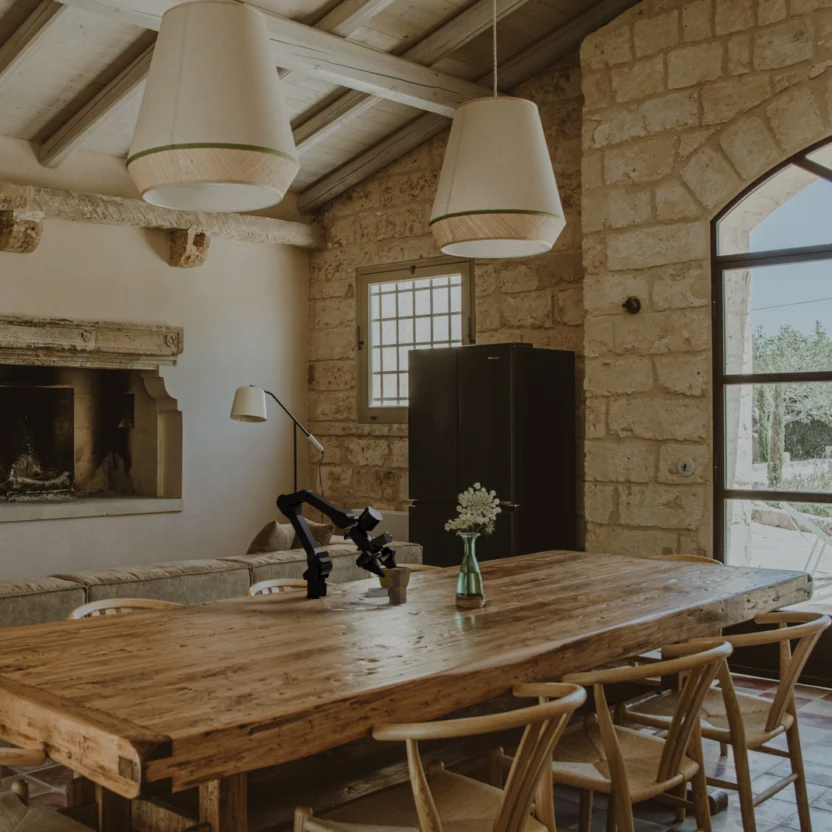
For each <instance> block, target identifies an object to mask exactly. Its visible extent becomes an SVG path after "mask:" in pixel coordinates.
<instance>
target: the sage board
mask: <svg viewBox="0 0 832 832" xmlns="http://www.w3.org/2000/svg"><path fill="white" fill-rule="evenodd" d="M408 594H409V593H406V603H408V602H410V603H411V602H412V599H411V598H410V595H408ZM367 596H368V600H369V603H389V596H384V597H370V596H369V595H368V594H367Z"/></svg>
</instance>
